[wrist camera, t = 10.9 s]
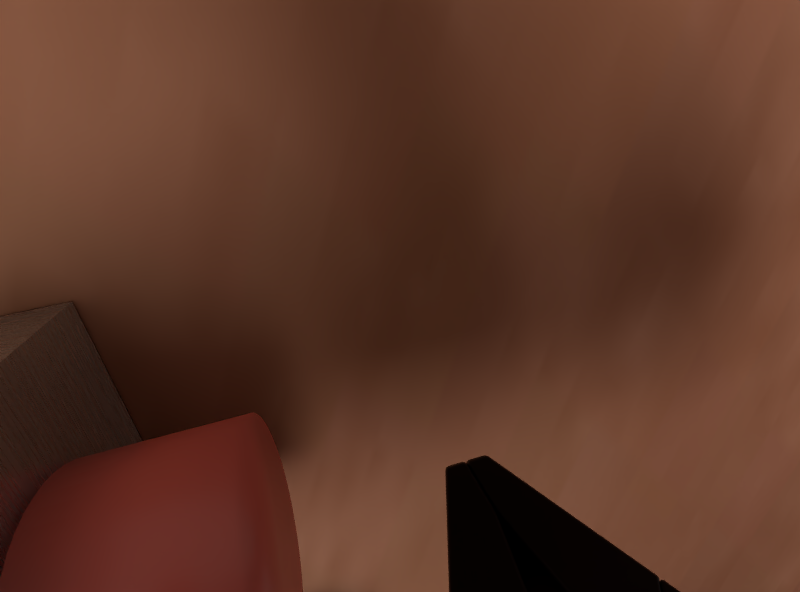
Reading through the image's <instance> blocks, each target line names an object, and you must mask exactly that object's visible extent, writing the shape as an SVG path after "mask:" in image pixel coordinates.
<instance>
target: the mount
mask: <svg viewBox="0 0 800 592" xmlns="http://www.w3.org/2000/svg"><path fill="white" fill-rule="evenodd" d="M138 442H142V439H141V437H140V435H139V433H138V431H137V429H136V427H135V425H134V423H133V421H132V419H131V417H130V415H129V413H128V411H127V409H126V407H125V405H124V403H123V402H122V400H121V398H120V396H119V394H118V392H117V390H116V388H115V386H114V384H113V382H112V380H111V378H110V376H109V374H108V372H107V370H106V368H105V366H104V364H103V362H102V360H101V358H100V356H99V354H98V352H97V350H96V348H95V346H94V344H93V342H92V340H91V338H90V336H89V334H88V332H87V330H86V328H85V326H84V324H83V322H82V320H81V318H80V316H79V314H78V312H77V310H76V308H75V306H74V304H73V302H72V301H71V302H67V303H62V304H57V305H52V306H48V307H43V308H38V309H33V310H28V311H24V312H19V313H14V314H9V315H5V316H0V577H1V573H2V570H3V566H4V562H5V558H6V555H7V552H8V549H9V546H10V544H11V541H12V538H13V535H14V533H15V530H16V528H17V526H18V524H19V522H20V520H21V518H22V516H23V513H24V512H25V510H26V508H27V507H28V505H29V503H30V502H31V500H32V498H33V497H34V495H35V494H36V493H37V491H38V490H39V489H40V487H41V486H42V485H43V483H44V482H45V481H46V480H47V479H48V478H49V477H50V476H51V475H52V474H53V473H54V472H55V471H57V470H58V469H59V468H61V467H62V466H63V465H65V464H66V463H68V462H70V461H72V460H74V459H77V458H81V457H84V456H88V455H92V454H96V453H100V452H104V451H107V450H111V449H115V448H119V447H123V446H126V445H130V444H134V443H138Z"/></svg>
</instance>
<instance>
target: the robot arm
mask: <svg viewBox="0 0 800 592" xmlns="http://www.w3.org/2000/svg"><path fill="white" fill-rule="evenodd" d="M445 473H446V506H447V538H448V570H449V592H680V591H678V590H677V589H676V588H674V587H673V586H671V585H670V584H669V583H667V582H666V581H664V580H660V581H659V578H658V576H657V575H656V574H654V573H653V572H651V571H650V570H648V569H647V568H646V567H644V566H643V565H641V564H640V563H639V562H637V561H636V560H634V559H633V558H631V557H630V556H629V555H627V554H626V553H624V552H623V551H622V550H620V549H619V548H617V547H616V546H614V545H613V544H612V543H610V542H609V541H607V540H606V539H605V538H603V537H602V536H600V535H599V534H597V533H596V532H595V531H593V530H592V529H590V528H589V527H588V526H586V525H585V524H583V523H582V522H580V521H579V520H578V519H576V518H575V517H573V516H572V515H571V514H569V513H568V512H566V511H565V510H563V509H562V508H561V507H559V506H558V505H556V504H555V503H554V502H552V501H551V500H549V499H548V498H546V497H545V496H544V495H542V494H541V493H539V492H538V491H537V490H535V489H534V488H532V487H531V486H530V485H528V484H527V483H525V482H524V481H522V480H521V479H520V478H518V477H517V476H515V475H514V474H513V473H511V472H510V471H508V470H507V469H505V468H504V467H503V466H501V465H500V464H498V463H497V462H496V461H494V460H493V459H491V458H490V457H488V456H485V455H484V456H480V457H477V458H473V459H470V460H468V461H467V463H465V462H460V463H457V464H454V465H450V466H448V467H446V471H445Z"/></svg>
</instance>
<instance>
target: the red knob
mask: <svg viewBox="0 0 800 592" xmlns="http://www.w3.org/2000/svg"><path fill="white" fill-rule="evenodd" d="M0 592H303V586H302V574H301V563H300V554H299V546H298V539H297V532H296V526H295V520H294V514H293V509H292V504H291V499H290V494H289V490H288V485H287V481H286V477H285V473H284V469H283V466H282V462H281V459H280V456H279V453H278V450H277V447H276V444H275V442H274V439H273V437H272V435H271V432H270V430H269V428H268V426H267V425H266V423H265V422H264V420H263V419H262V418H261V416H259V415H258V414H257V413H254V412H252V413H249V414H245V415H241V416H237V417H233V418H229V419H226V420H222V421H218V422H214V423H210V424H207V425H203V426H199V427H195V428H191V429H187V430H184V431H180V432H176V433H172V434H168V435H165V436H161V437H157V438H153V439H149V440H145V441H142V442H138V443H134V444H130V445H126V446H123V447H119V448H115V449H111V450H107V451H104V452H100V453H96V454H92V455H88V456H84V457H81V458H77V459H74V460H72V461H70V462H68V463H66V464H65V465H63V466H62V467H61V468H59V469H58V470H57V471H55V472H54V473H53V474H52V475H51V476H50V477H49V478H48V479H47V480H46V481H45V482H44V483H43V485H42V486H41V487H40V489H39V490H38V491H37V493H36V494H35V495H34V497H33V498H32V500H31V502H30V503H29V505H28V507H27V508H26V510H25V512H24V513H23V516H22V518H21V520H20V522H19V524H18V526H17V528H16V530H15V533H14V535H13V538H12V541H11V544H10V546H9V549H8V552H7V555H6V558H5V562H4V566H3V570H2V573H1V577H0Z"/></svg>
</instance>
